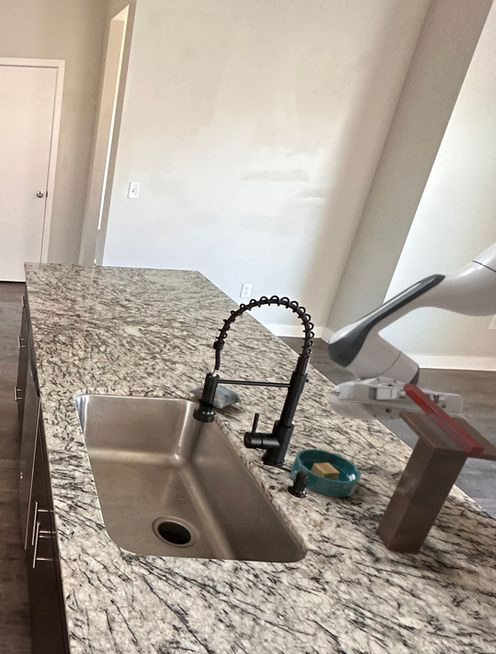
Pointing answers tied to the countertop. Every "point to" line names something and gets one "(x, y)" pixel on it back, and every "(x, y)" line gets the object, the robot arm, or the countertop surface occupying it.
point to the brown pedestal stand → (425, 482)
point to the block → (325, 471)
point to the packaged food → (218, 396)
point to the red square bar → (444, 421)
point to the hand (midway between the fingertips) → (422, 397)
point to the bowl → (320, 484)
